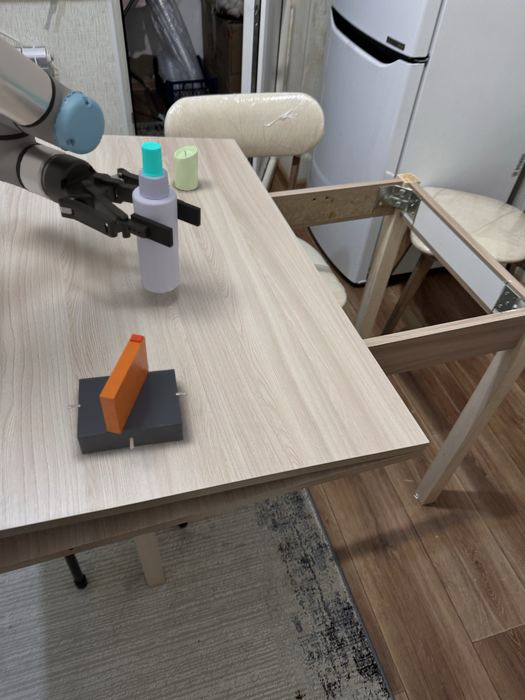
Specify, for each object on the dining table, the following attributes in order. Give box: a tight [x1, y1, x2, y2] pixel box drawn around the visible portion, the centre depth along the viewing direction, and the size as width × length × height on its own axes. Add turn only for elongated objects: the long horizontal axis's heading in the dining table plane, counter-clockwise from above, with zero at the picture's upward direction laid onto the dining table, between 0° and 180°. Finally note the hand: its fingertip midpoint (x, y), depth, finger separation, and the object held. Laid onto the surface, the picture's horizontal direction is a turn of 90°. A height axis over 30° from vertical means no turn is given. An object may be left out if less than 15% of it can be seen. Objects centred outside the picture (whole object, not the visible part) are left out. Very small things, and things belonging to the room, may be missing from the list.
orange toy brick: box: [99, 333, 150, 434], centre depth 57 cm, size 10×2×7 cm, turn 171°
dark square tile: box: [67, 368, 188, 455], centre depth 61 cm, size 14×14×4 cm
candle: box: [173, 145, 199, 192], centre depth 104 cm, size 5×5×8 cm
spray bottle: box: [132, 141, 181, 294], centre depth 70 cm, size 6×6×22 cm
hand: (185, 227), depth 68 cm, fingers closed on spray bottle, 6 cm apart
